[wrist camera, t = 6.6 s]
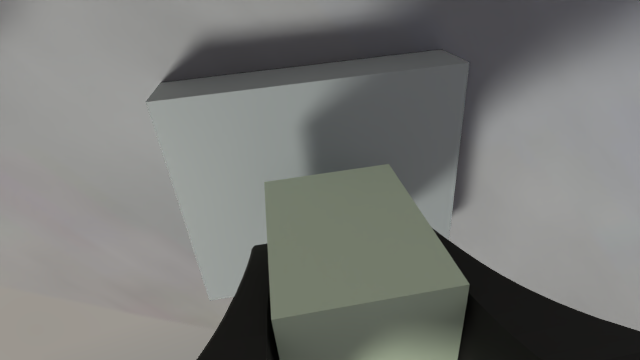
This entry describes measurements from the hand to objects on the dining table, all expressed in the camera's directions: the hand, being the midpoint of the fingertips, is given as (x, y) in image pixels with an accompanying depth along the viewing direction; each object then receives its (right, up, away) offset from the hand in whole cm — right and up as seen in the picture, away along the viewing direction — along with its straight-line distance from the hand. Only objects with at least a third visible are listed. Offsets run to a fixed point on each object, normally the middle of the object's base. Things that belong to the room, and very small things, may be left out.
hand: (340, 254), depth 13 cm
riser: (-1, +3, +5) cm, 6 cm away
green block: (0, +1, +1) cm, 2 cm away
